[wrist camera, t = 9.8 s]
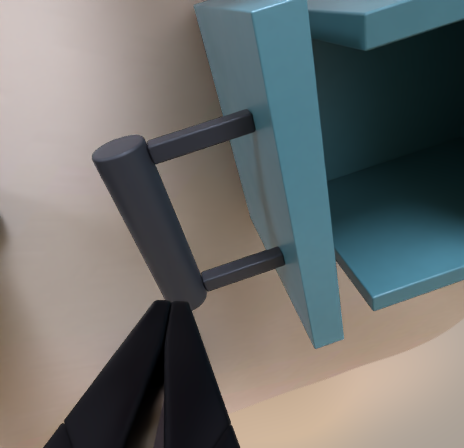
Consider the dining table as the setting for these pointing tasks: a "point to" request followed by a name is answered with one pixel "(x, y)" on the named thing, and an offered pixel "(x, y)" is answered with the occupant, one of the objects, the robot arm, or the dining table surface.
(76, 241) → the dining table surface
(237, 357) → the dining table surface
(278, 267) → the compartment
